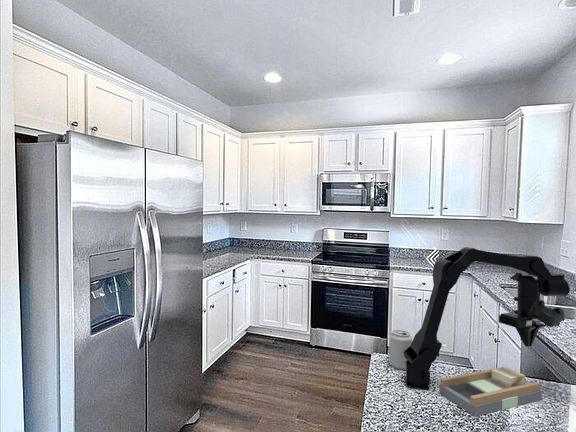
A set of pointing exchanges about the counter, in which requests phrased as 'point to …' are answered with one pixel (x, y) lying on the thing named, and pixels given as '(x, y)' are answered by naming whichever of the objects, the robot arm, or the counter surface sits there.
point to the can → (399, 348)
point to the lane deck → (486, 393)
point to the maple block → (507, 377)
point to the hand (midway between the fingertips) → (528, 346)
